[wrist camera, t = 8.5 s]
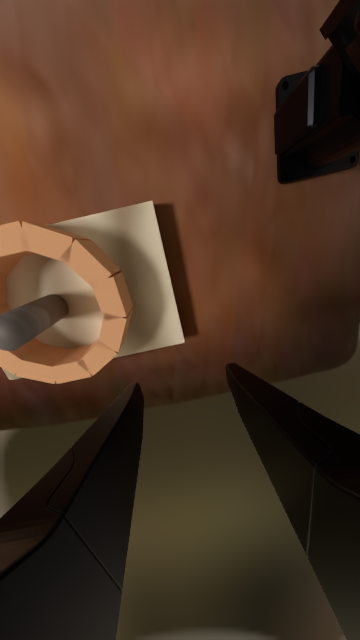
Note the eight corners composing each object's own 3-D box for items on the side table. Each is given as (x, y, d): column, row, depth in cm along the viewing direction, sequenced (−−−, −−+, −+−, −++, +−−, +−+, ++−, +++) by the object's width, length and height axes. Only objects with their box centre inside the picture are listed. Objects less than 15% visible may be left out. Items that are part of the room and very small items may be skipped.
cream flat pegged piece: (153, 204, 17) (142, 174, 10) (183, 336, 21) (190, 380, 14) (-54, 253, 17) (-207, 258, 10) (20, 371, 22) (-50, 430, 15)
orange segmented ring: (103, 211, 15) (88, 204, 13) (146, 348, 20) (143, 365, 17) (-49, 247, 16) (-96, 248, 13) (28, 374, 20) (6, 394, 18)
